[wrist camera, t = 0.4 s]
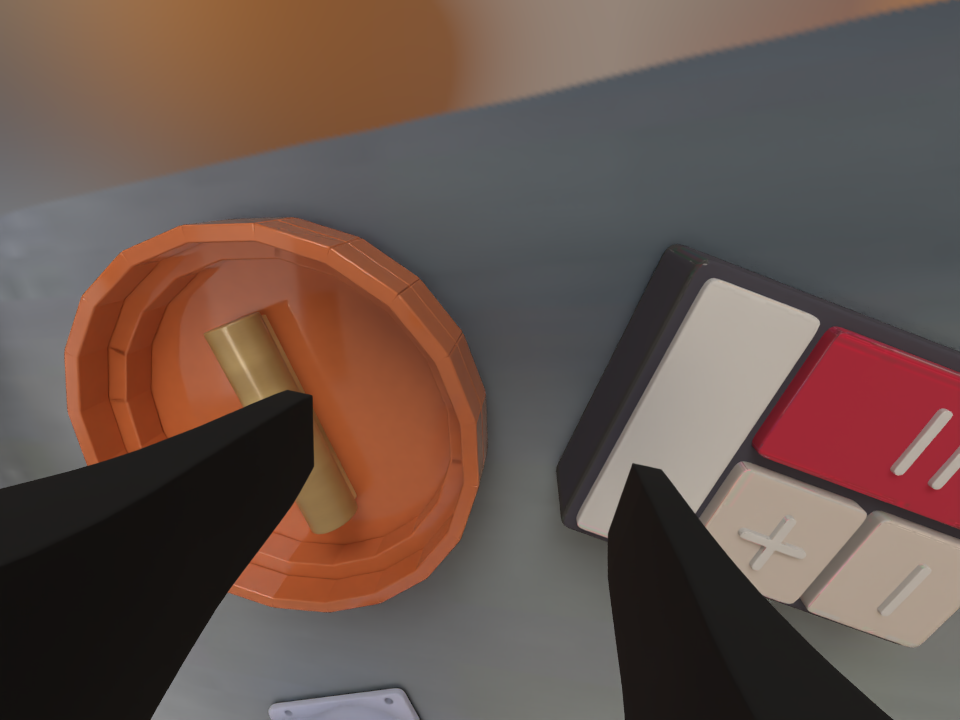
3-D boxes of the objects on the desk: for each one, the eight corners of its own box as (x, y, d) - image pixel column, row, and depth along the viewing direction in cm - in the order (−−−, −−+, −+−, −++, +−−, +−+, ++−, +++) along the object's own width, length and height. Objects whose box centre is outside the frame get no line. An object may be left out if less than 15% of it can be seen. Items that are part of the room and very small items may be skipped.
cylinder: (365, 497, 22) (346, 529, 20) (324, 507, 23) (302, 539, 21) (269, 306, 20) (237, 321, 18) (226, 322, 20) (190, 338, 18)
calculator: (923, 668, 18) (558, 540, 18) (853, 580, 22) (552, 472, 22) (1173, 436, 14) (711, 259, 14) (1032, 378, 18) (669, 239, 18)
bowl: (250, 572, 27) (202, 635, 23) (77, 290, 22) (-19, 312, 18) (539, 512, 23) (537, 576, 19) (403, 150, 18) (364, 143, 14)
